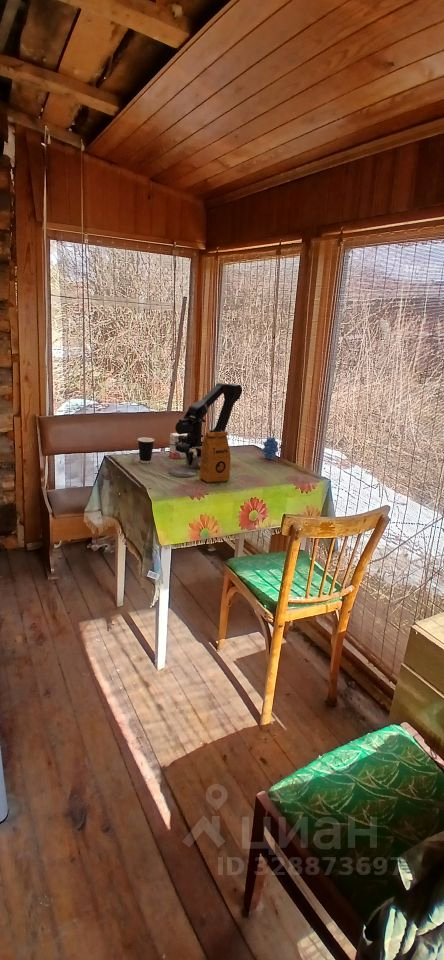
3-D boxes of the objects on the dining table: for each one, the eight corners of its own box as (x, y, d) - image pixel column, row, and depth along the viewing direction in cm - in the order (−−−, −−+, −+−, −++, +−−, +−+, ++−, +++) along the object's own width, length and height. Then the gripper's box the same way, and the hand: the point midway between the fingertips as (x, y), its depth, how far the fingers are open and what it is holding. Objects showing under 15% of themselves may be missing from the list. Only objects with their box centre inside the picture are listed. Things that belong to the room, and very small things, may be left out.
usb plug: (190, 463, 269) (190, 453, 267) (206, 469, 260) (207, 459, 259) (183, 464, 266) (184, 454, 265) (200, 470, 258) (200, 460, 256)
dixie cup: (155, 463, 264) (156, 441, 260) (139, 464, 260) (140, 441, 257) (151, 459, 270) (151, 437, 267) (135, 459, 267) (135, 437, 264)
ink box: (173, 458, 274) (174, 435, 271) (168, 456, 278) (169, 433, 275) (188, 457, 279) (189, 434, 275) (183, 454, 283) (184, 432, 279)
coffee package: (232, 482, 243) (235, 433, 237) (206, 484, 238) (209, 434, 231) (222, 476, 252) (225, 428, 245) (197, 478, 246) (200, 429, 240)
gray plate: (185, 468, 259) (185, 466, 259) (201, 475, 251) (201, 473, 251) (164, 471, 252) (164, 470, 251) (180, 479, 243) (180, 477, 243)
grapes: (282, 461, 283) (285, 438, 280) (272, 462, 280) (274, 439, 276) (269, 455, 293) (271, 433, 289) (259, 456, 289) (261, 434, 286)
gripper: (200, 426, 271) (198, 457, 275) (169, 430, 259) (167, 462, 263) (214, 431, 263) (212, 463, 268) (183, 435, 251) (182, 468, 255)
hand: (193, 464), depth 264 cm, fingers open, 4 cm apart
